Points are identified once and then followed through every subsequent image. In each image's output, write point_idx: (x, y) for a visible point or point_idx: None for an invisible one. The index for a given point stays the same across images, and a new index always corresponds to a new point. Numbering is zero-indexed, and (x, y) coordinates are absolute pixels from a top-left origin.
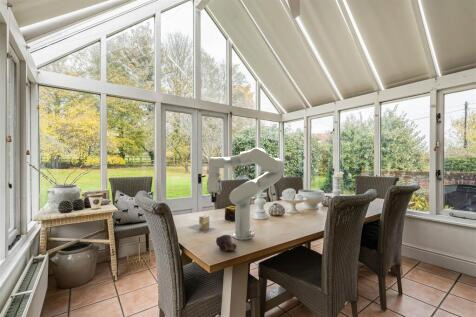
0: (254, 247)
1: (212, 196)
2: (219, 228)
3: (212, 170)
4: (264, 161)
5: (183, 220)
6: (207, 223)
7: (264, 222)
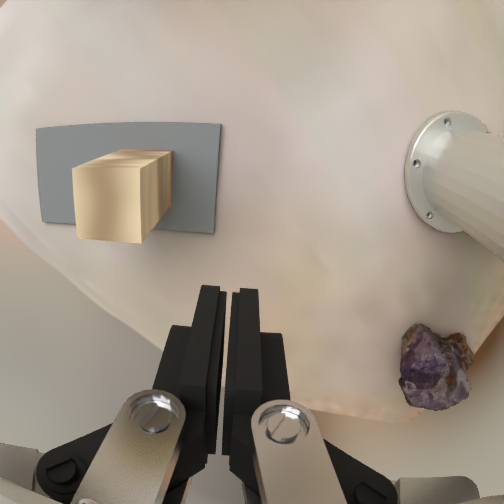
0: None
1: (207, 451)
2: (229, 85)
3: None
4: None
5: None
6: (159, 181)
7: None
